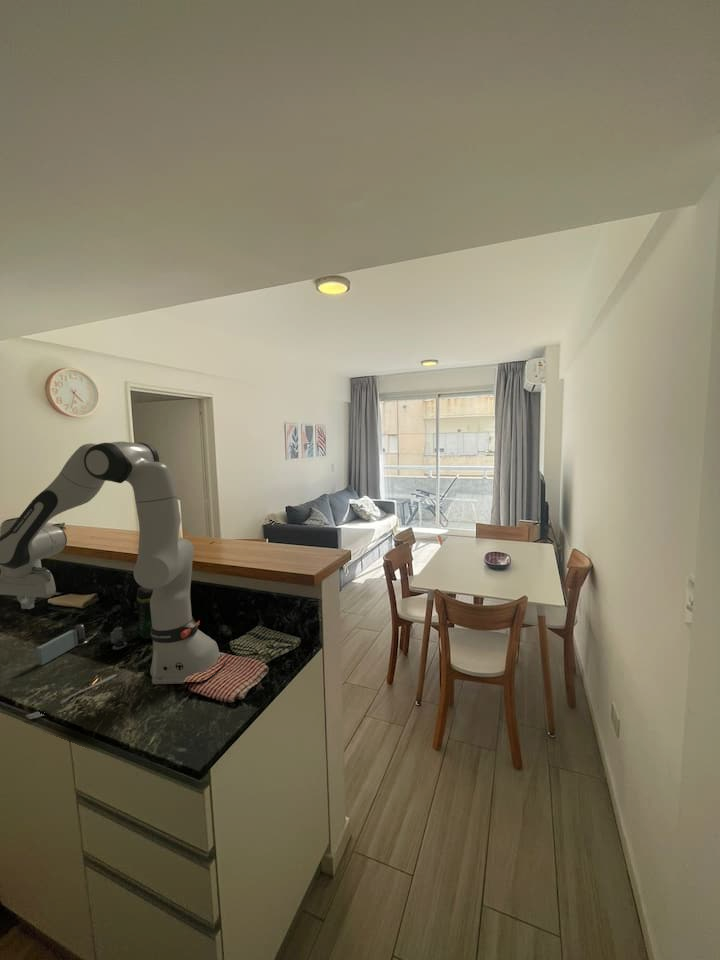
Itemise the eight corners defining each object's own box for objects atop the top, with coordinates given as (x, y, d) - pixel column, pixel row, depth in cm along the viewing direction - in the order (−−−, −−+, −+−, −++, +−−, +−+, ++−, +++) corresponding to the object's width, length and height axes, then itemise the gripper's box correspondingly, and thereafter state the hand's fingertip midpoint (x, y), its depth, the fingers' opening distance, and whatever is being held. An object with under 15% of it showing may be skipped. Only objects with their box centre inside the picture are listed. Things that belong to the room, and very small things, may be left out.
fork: (128, 672, 115) (127, 666, 115) (30, 725, 94) (29, 719, 94) (122, 669, 117) (121, 664, 116) (24, 721, 95) (23, 715, 95)
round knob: (92, 640, 135) (90, 622, 134) (80, 646, 130) (78, 629, 130) (82, 639, 136) (80, 622, 135) (70, 645, 131) (68, 628, 131)
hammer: (131, 642, 132) (129, 625, 131) (119, 650, 127) (118, 632, 126) (115, 641, 133) (113, 623, 133) (103, 648, 128) (101, 630, 128)
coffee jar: (145, 642, 132) (140, 591, 130) (137, 635, 137) (132, 586, 135) (173, 631, 139) (169, 582, 137) (164, 625, 144) (160, 578, 143)
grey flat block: (73, 644, 131) (71, 629, 131) (78, 644, 131) (76, 629, 130) (37, 664, 120) (35, 648, 119) (42, 664, 119) (40, 648, 119)
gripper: (59, 564, 121) (63, 605, 122) (9, 562, 125) (14, 602, 126) (38, 571, 115) (43, 614, 116) (-13, 568, 119) (-8, 610, 120)
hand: (28, 608), depth 121 cm, fingers closed
